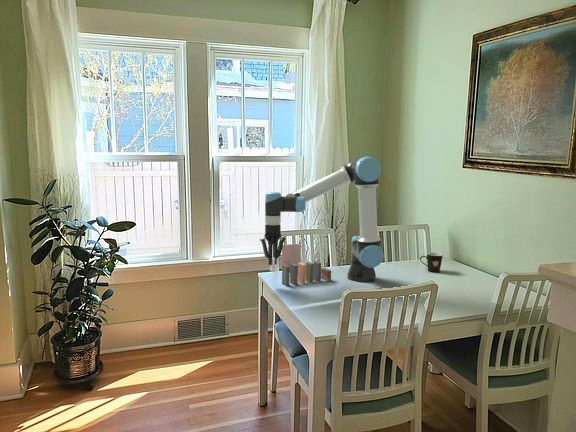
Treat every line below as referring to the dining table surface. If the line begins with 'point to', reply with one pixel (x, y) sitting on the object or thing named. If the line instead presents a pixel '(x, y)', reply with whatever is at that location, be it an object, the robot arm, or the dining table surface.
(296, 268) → the domino
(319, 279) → the domino
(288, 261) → the greeting card
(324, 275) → the block
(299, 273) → the orange rectangular block
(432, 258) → the coffee mug
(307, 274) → the domino
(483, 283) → the dining table surface
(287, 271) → the domino
